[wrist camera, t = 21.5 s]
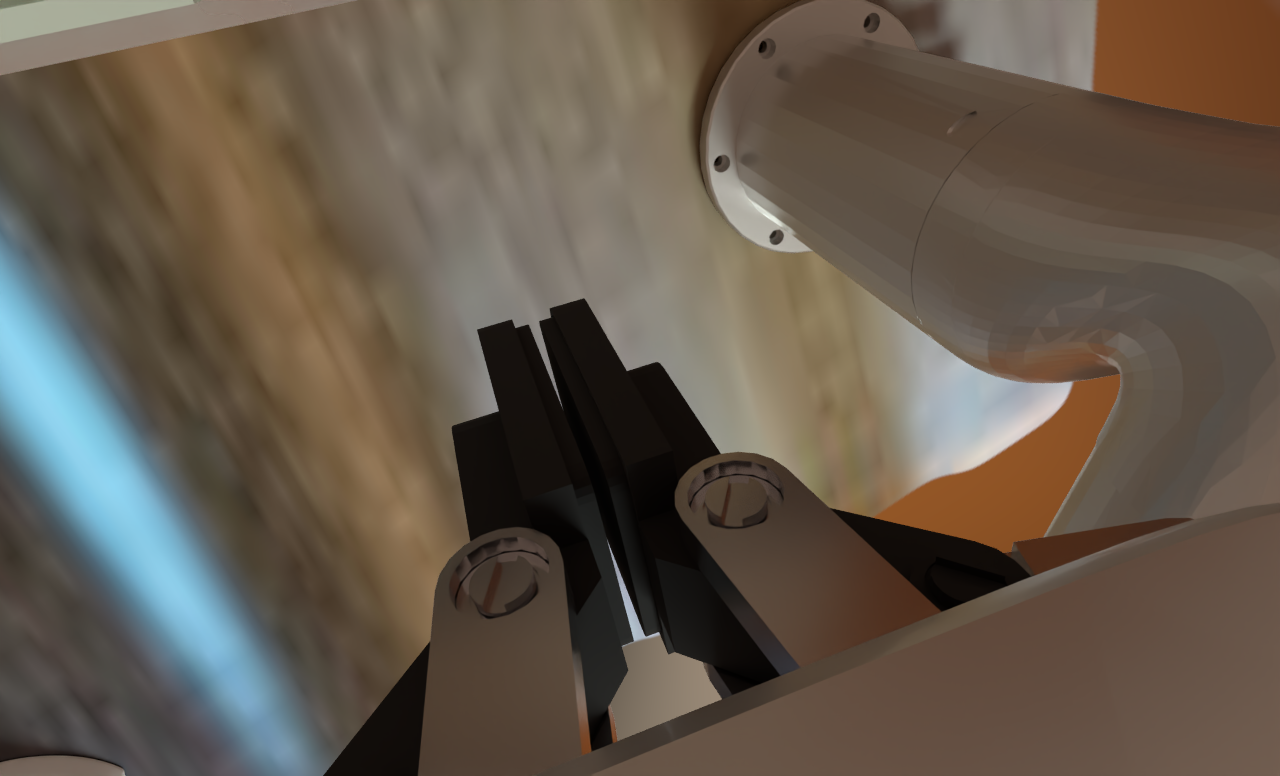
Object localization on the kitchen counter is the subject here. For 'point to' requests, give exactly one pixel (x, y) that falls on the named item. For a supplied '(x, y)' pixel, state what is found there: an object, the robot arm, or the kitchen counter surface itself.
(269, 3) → the white flat board
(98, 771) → the jar
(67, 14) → the pale green open box
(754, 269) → the kitchen counter surface
